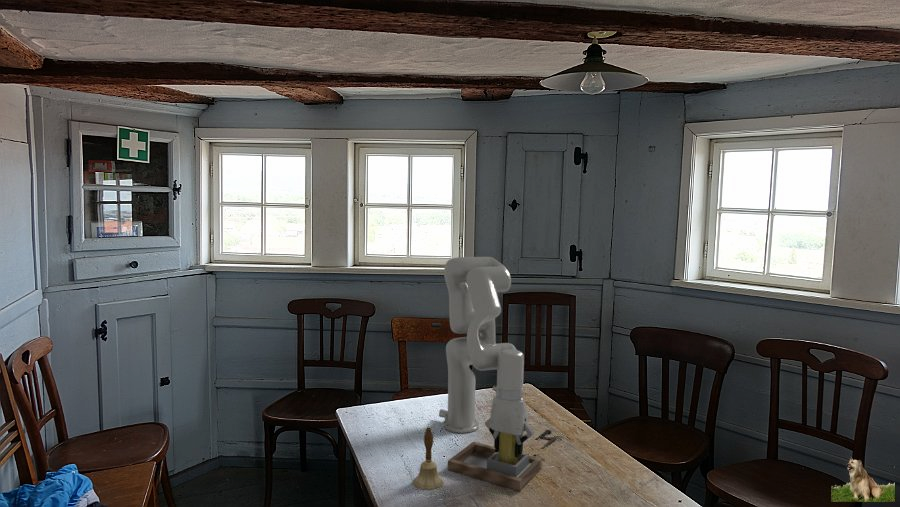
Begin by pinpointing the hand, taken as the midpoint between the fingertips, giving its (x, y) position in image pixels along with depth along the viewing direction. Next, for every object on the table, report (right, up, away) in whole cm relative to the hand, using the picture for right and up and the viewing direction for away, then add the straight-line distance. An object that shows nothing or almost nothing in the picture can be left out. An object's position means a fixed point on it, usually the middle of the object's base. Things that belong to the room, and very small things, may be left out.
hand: (508, 452), depth 167 cm
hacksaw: (+14, -5, +19) cm, 24 cm away
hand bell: (-23, -7, -6) cm, 25 cm away
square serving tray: (0, -6, 0) cm, 6 cm away
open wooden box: (-4, -6, +3) cm, 7 cm away
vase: (0, -4, 0) cm, 4 cm away
